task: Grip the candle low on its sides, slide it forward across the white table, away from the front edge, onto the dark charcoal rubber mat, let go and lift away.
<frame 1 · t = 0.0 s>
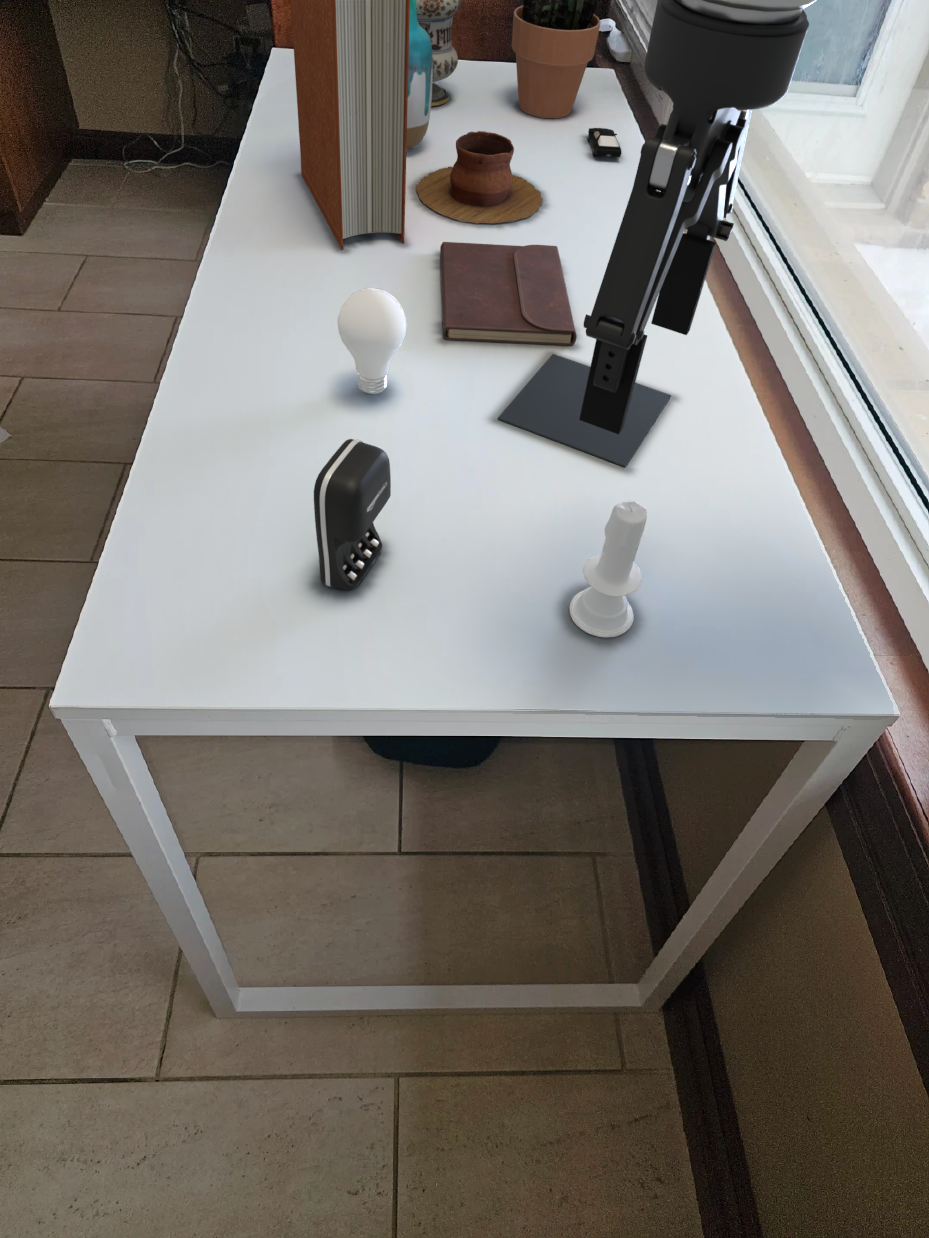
hand: (637, 373, 59), 21 cm above the table, tool pointing down, fingers open, 13 cm apart
potted plant: (544, 110, 145), on the table
vase: (394, 147, 130), on the table
ceramic pot: (479, 196, 122), on the table
notebook: (503, 299, 104), on the table
toy car: (602, 150, 136), on the table
battery charger: (357, 568, 74), on the table
book: (349, 207, 117), on the table
candle: (600, 615, 72), on the table
light bulb: (372, 393, 90), on the table
mat: (586, 407, 91), on the table
apothecary jar: (419, 97, 144), on the table
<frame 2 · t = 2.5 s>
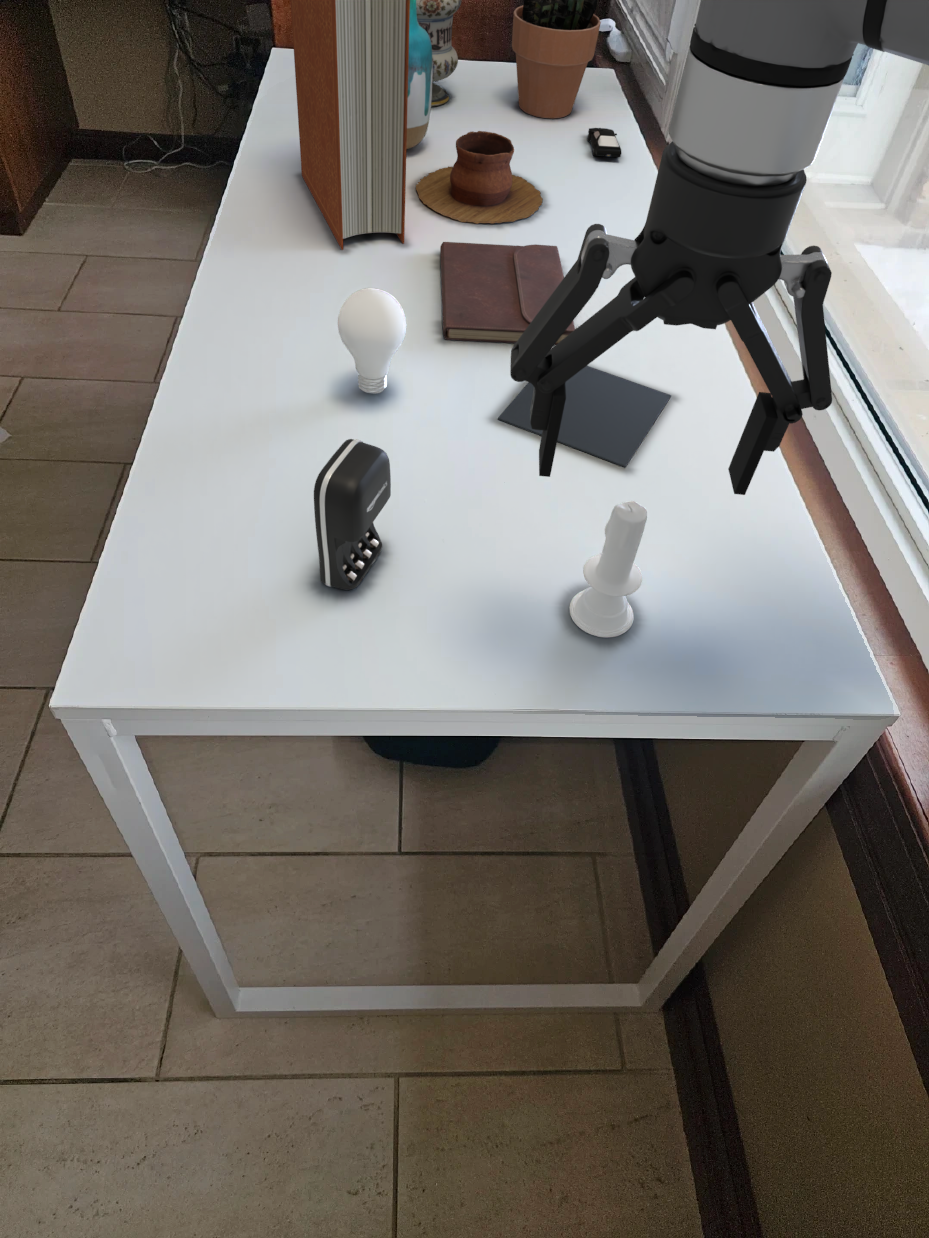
hand: (640, 473, 61), 15 cm above the table, tool pointing down, fingers open, 13 cm apart
nothing on the table moved.
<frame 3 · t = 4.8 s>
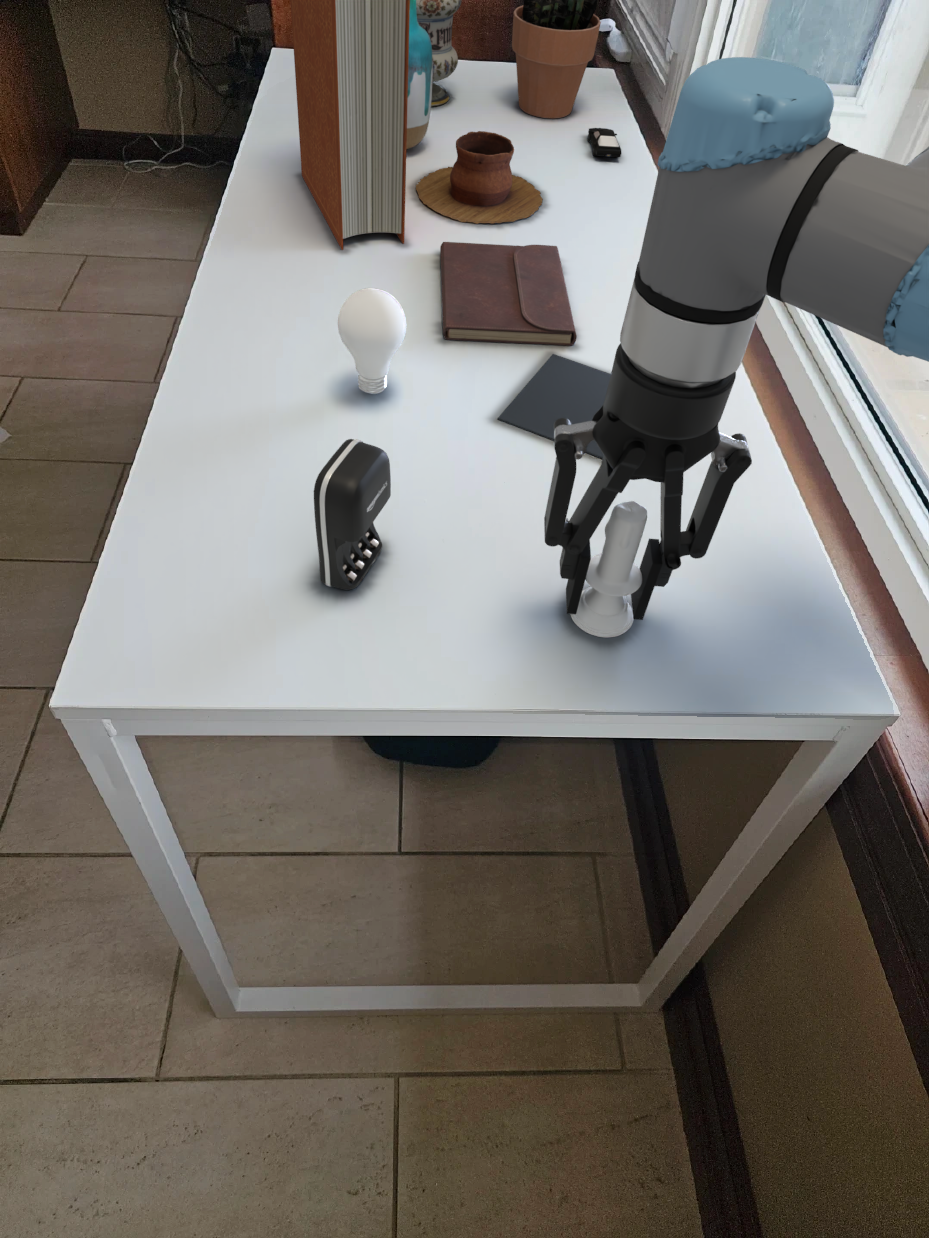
hand: (603, 603, 71), 1 cm above the table, tool pointing down, fingers closed on candle, 5 cm apart
candle: (600, 615, 72), on the table, touching gripper
everything else where it was.
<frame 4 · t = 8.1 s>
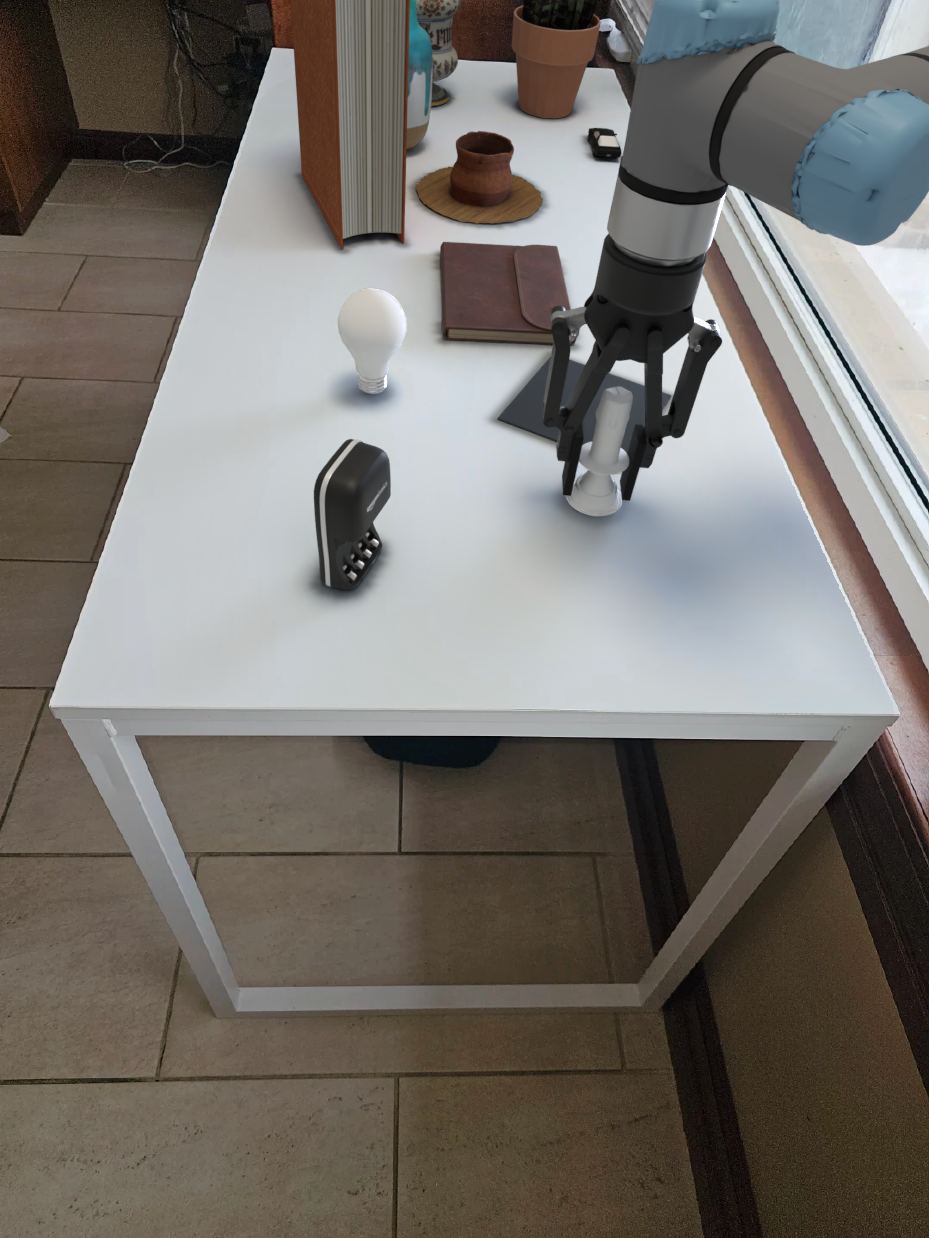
hand: (595, 487, 80), 2 cm above the table, tool pointing down, fingers closed on candle, 5 cm apart
candle: (593, 499, 81), on the table, touching gripper
everything else where it was.
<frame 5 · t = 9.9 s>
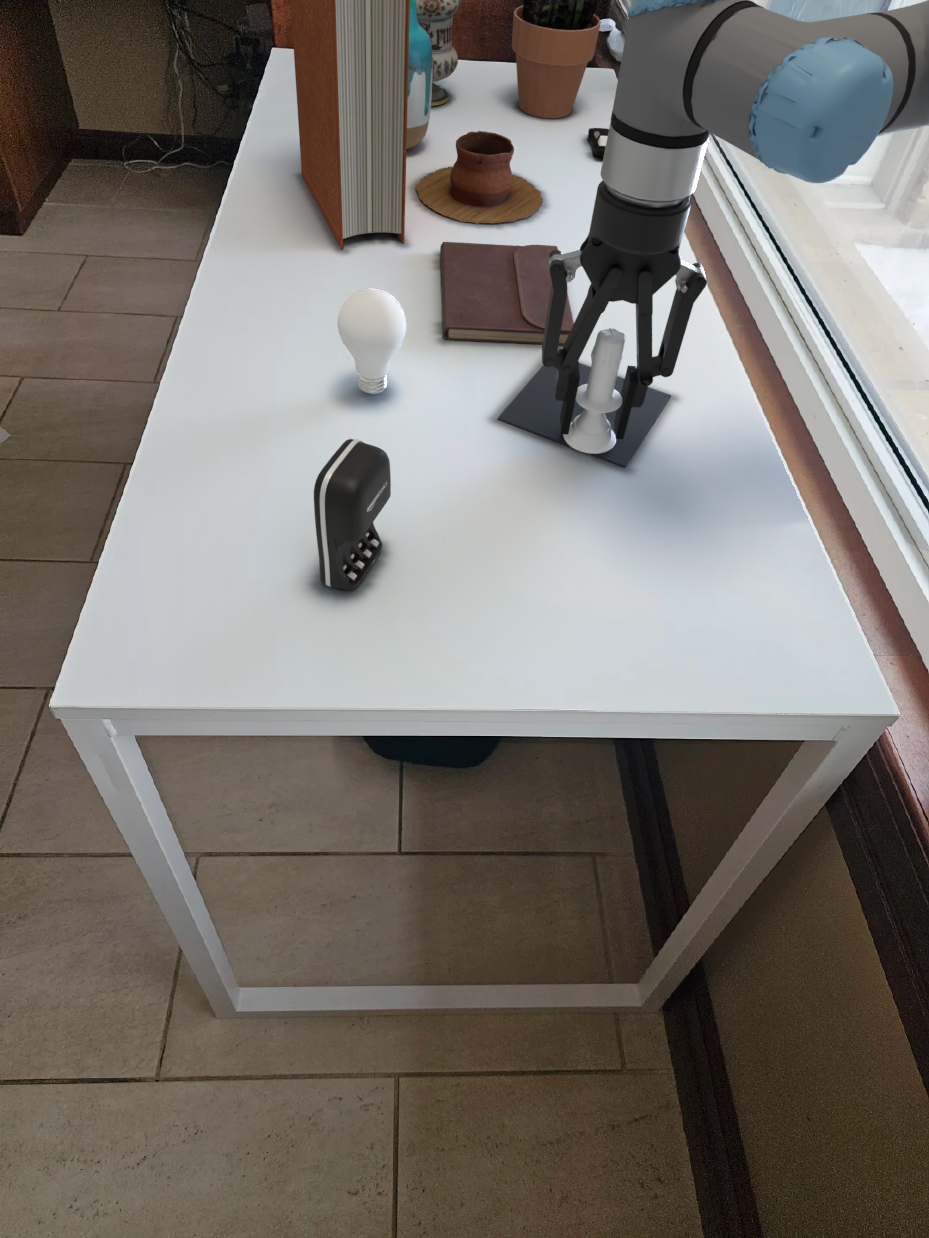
hand: (591, 427, 86), 2 cm above the table, tool pointing down, fingers closed on candle, 5 cm apart
candle: (588, 439, 87), resting on mat, touching gripper
everything else where it was.
when the fingers open (1 cm above the table, at t = 11.5 s): candle stays where it is, resting on mat.
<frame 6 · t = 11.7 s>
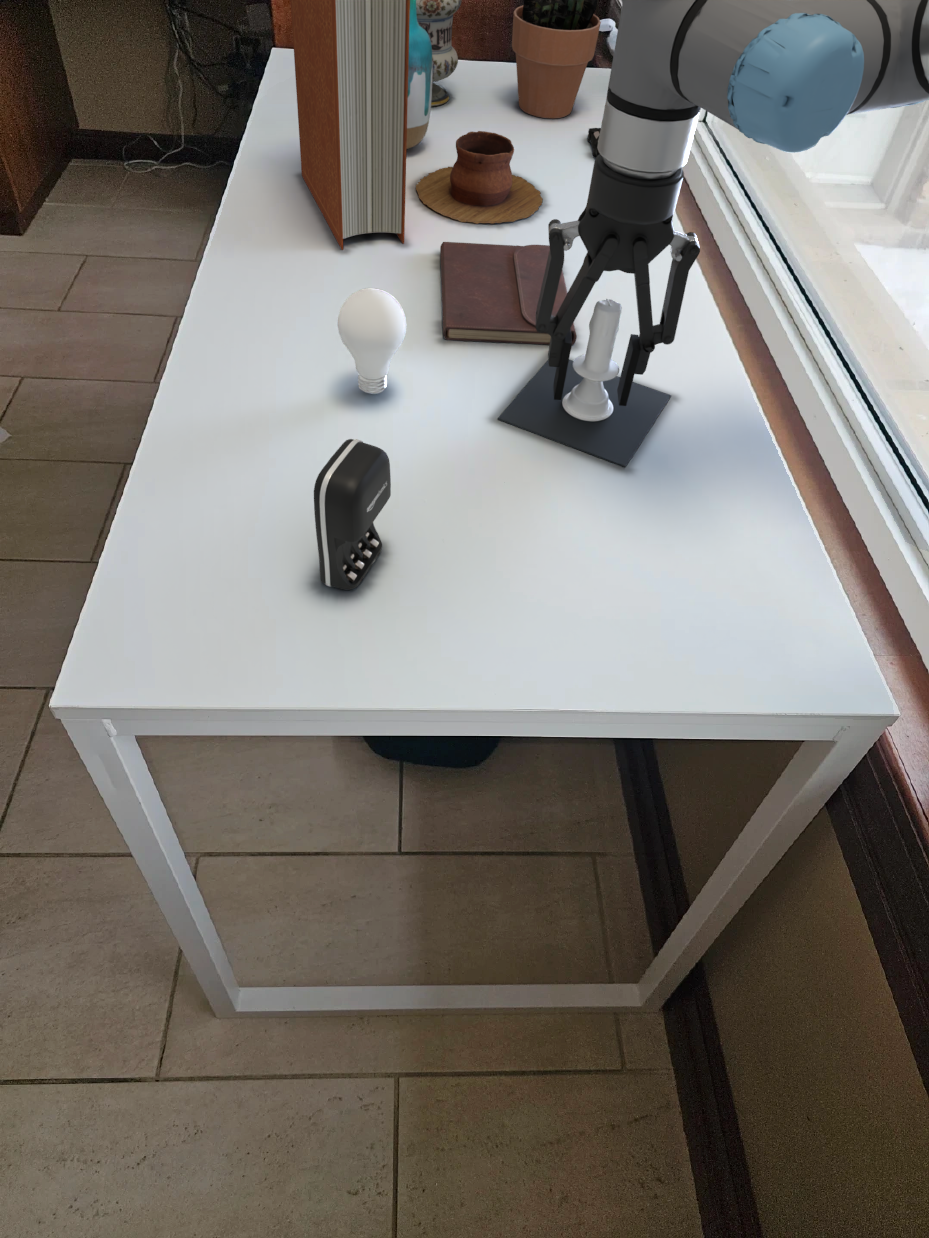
hand: (589, 394, 89), 2 cm above the table, tool pointing down, fingers open, 6 cm apart
candle: (587, 408, 91), resting on mat
everything else where it was.
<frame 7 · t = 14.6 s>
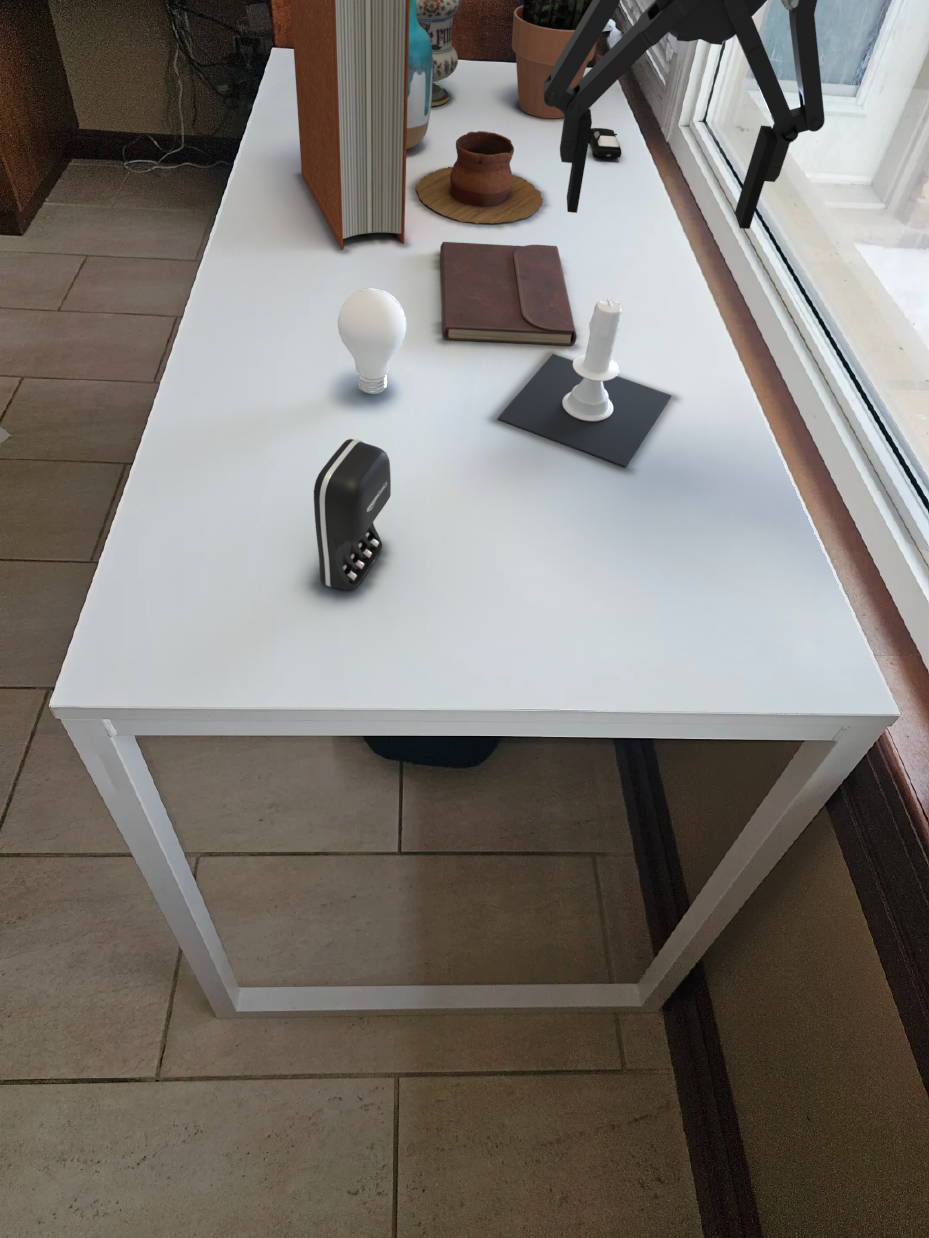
hand: (656, 213, 69), 23 cm above the table, tool pointing down, fingers open, 13 cm apart
nothing on the table moved.
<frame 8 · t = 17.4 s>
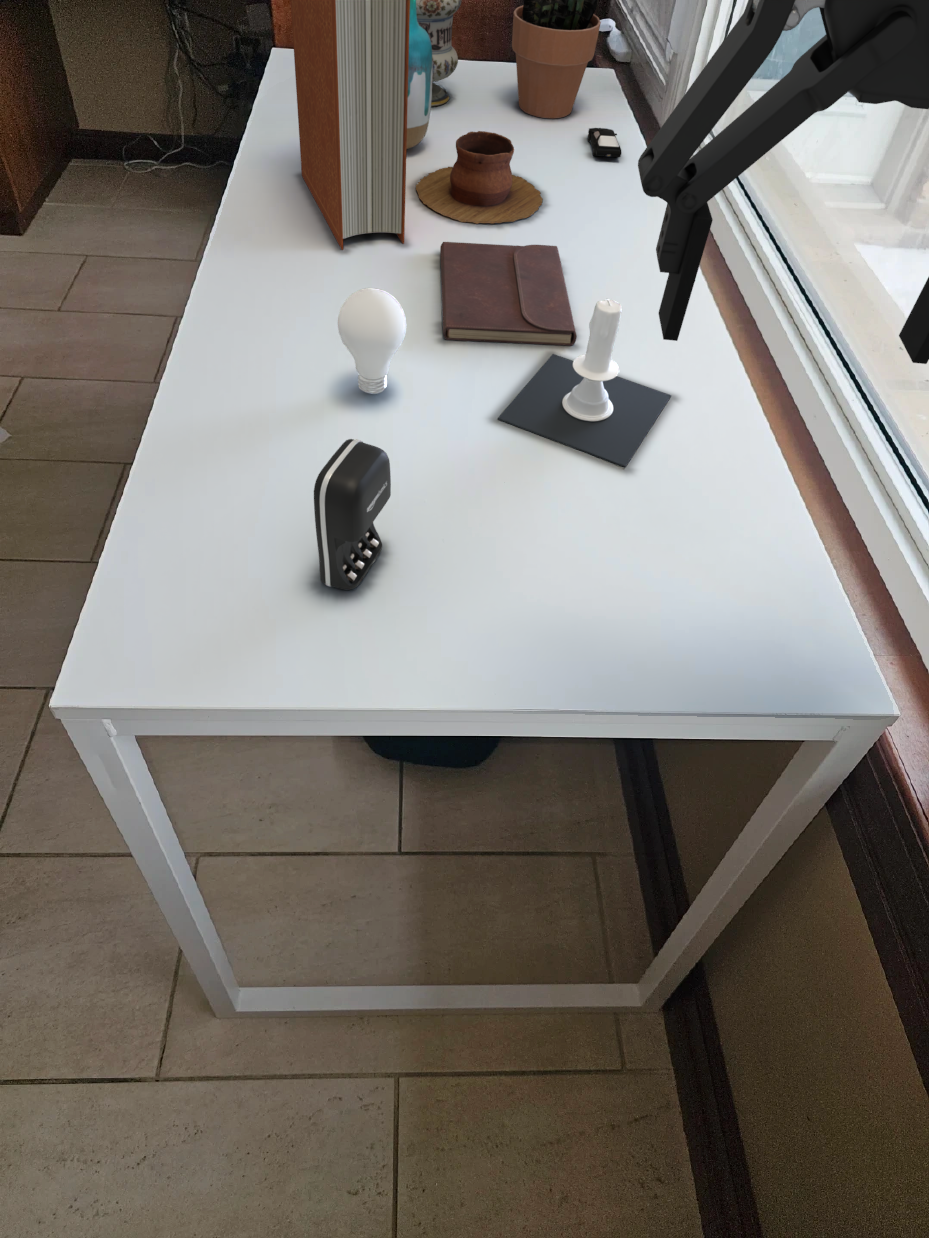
hand: (790, 339, 48), 29 cm above the table, tool pointing down, fingers open, 13 cm apart
nothing on the table moved.
at the end: candle inside the target area on the mat (0.1 cm from its centre), point 0.0 cm above the mat's base; candle tilted 0°; candle moved 28.5 cm from its start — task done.
